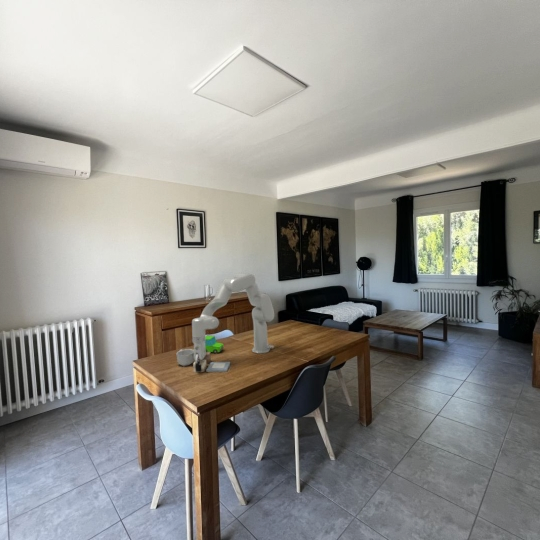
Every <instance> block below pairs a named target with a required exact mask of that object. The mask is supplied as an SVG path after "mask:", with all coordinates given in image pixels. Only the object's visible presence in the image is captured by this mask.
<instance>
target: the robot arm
mask: <svg viewBox="0 0 540 540" xmlns="http://www.w3.org/2000/svg"><path fill="white" fill-rule="evenodd" d="M243 290H244V291H245V292H246V294H247V295H246V296H247V297H248V301H249V303H250V305H251V306H253V308H252V311H251V317H252V323H253V348H251V351H252V353H254V354H266V353H269V351H270V349H274V348H275V346H274V345H273V344H269V343H268V325H267V323H268V322H272V321H273V320H274V319H275V309H274V307H273V303H272V300H271V298H270V296H269V295H268V294H266V293H262V292H261V291H260V290H259V287H258V283H256V277H255V275H253V274H252V273H249V272H248V273H246V272H238V273H235V274H234V276H233V278H230V277H229V278H225V279H223V281H222V282H221V284H220V286H219V288H218V290H217V292H216V294H215V296H214V297H213V299H211V300H210V302H209V303H208V304H206V306H205V307H204V308H203V310H202V312H201V314H200V316H199V317H196V318H193V319H192V320H191V330H192V331H191V333H192V335H191V336H192V343H193V350H194V362H195V367H196V371H201V360H204V357H205V355H206V346H205V341H206V336H207V335H206V330H215V329H217V328H218V326H219V325H220V320H219V318H217V317H216V316H214V313H215V312H216V311H217V310H219V309H221V308H222V307H224V306H226V305H227V303H228V302H229V299H230V298H231V296H232V293H238V292H239V293H240V292H241V291H243ZM198 360H199V361H198Z"/></svg>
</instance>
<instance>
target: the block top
mask: <svg viewBox="0 0 540 540" xmlns="http://www.w3.org/2000/svg"><path fill="white" fill-rule="evenodd" d="M211 353H212V352H206V355H205V357H204V360H206V365H207V364H208V365H210V363H211V362H212V360H211V359H212V356H211V355H212V354H211Z"/></svg>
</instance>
